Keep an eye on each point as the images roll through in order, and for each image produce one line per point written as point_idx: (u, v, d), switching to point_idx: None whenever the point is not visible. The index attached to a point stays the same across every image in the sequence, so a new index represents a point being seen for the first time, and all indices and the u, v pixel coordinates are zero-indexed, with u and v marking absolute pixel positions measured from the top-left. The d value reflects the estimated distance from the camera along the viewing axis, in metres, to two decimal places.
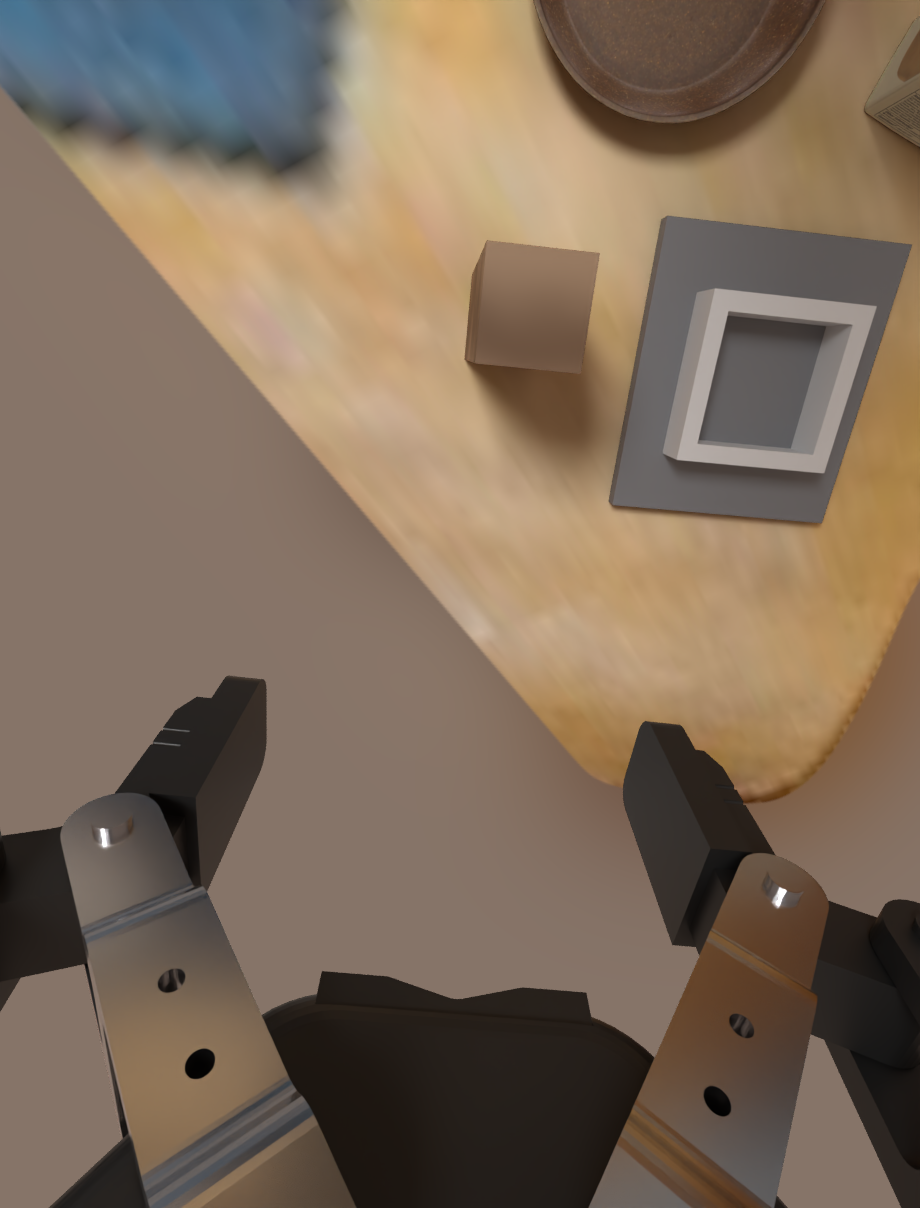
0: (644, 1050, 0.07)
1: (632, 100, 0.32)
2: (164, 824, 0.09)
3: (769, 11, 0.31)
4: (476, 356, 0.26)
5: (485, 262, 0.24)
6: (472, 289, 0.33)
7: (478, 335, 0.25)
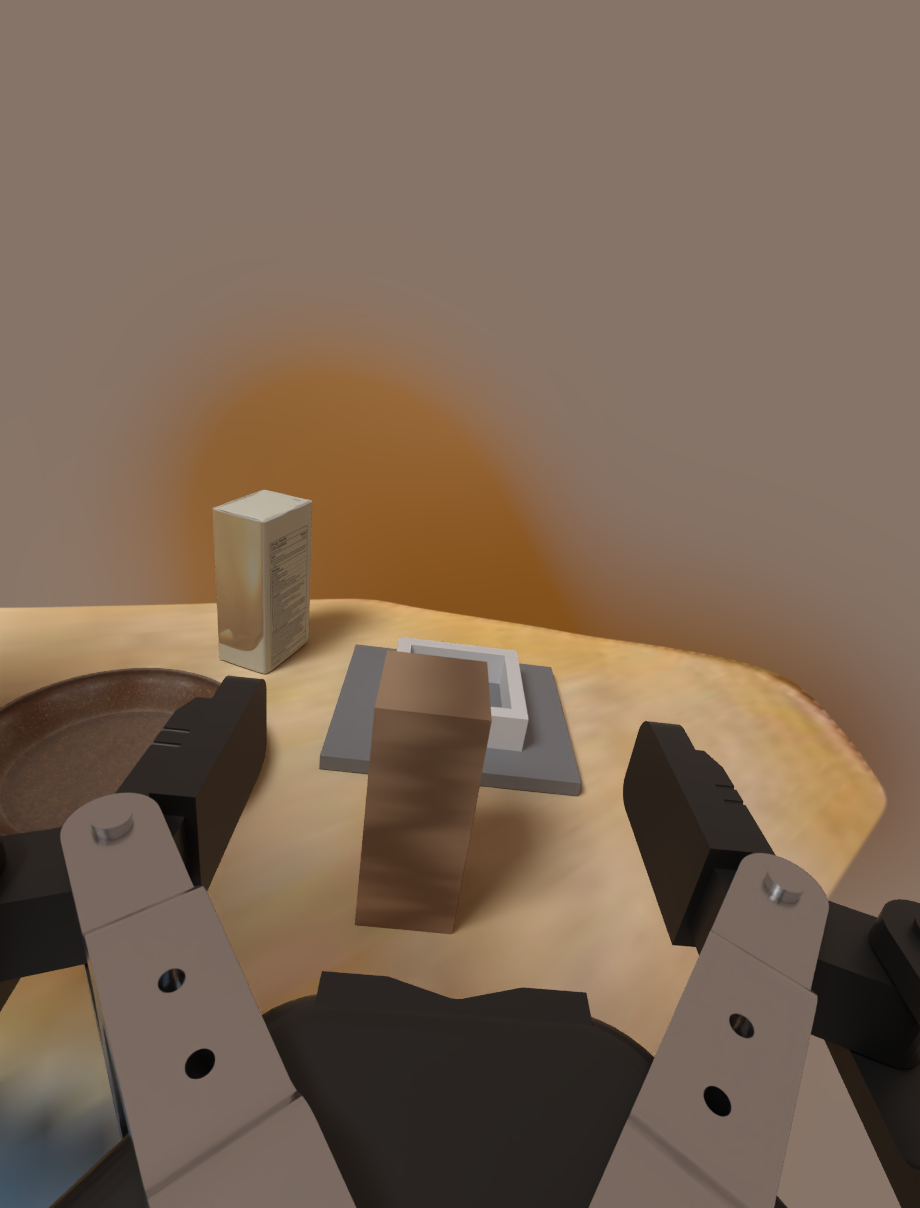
0: (644, 1050, 0.07)
1: None
2: (164, 824, 0.09)
3: None
4: (484, 720, 0.24)
5: (394, 711, 0.23)
6: (379, 890, 0.27)
7: (463, 718, 0.24)
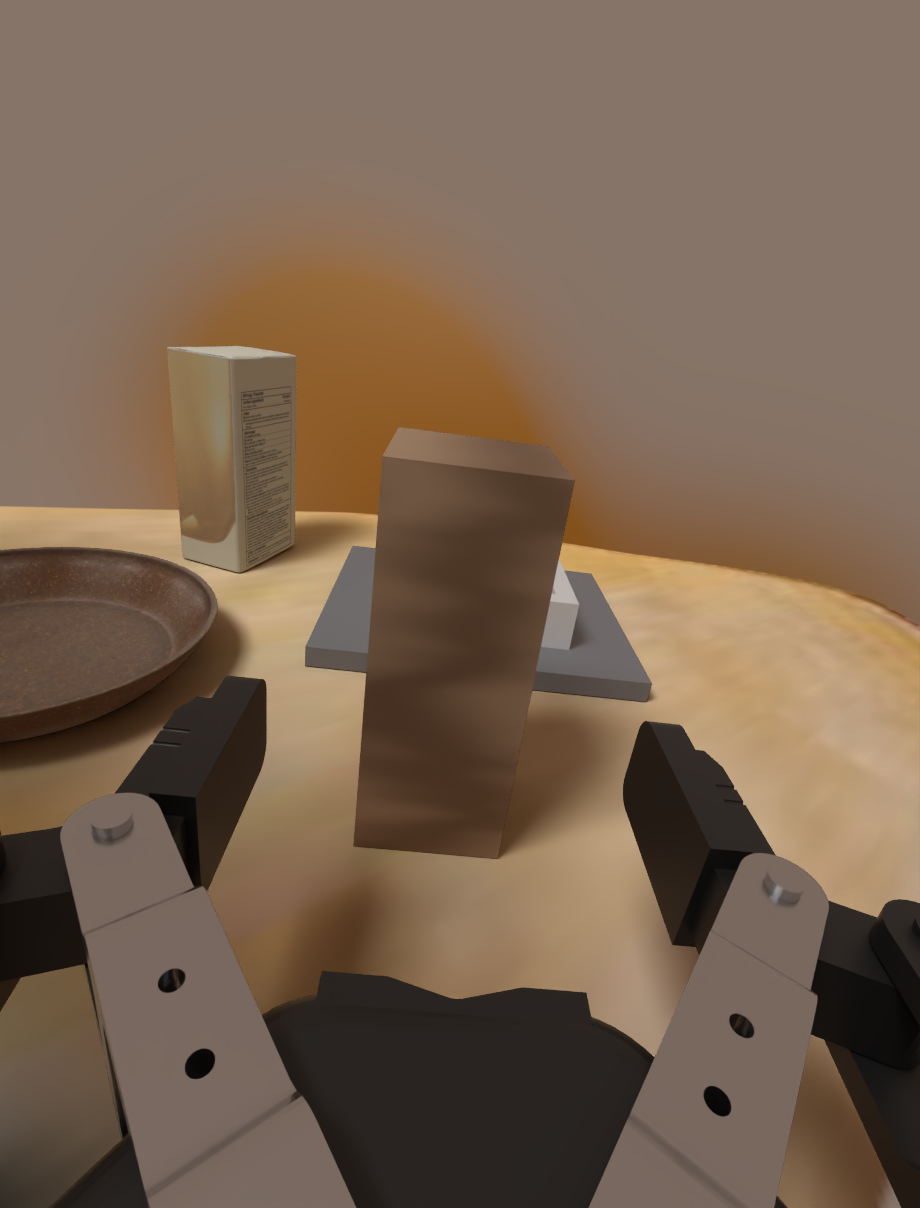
0: (644, 1050, 0.07)
1: None
2: (164, 824, 0.09)
3: (131, 607, 0.31)
4: (562, 481, 0.14)
5: (414, 463, 0.14)
6: (389, 789, 0.18)
7: (528, 477, 0.14)
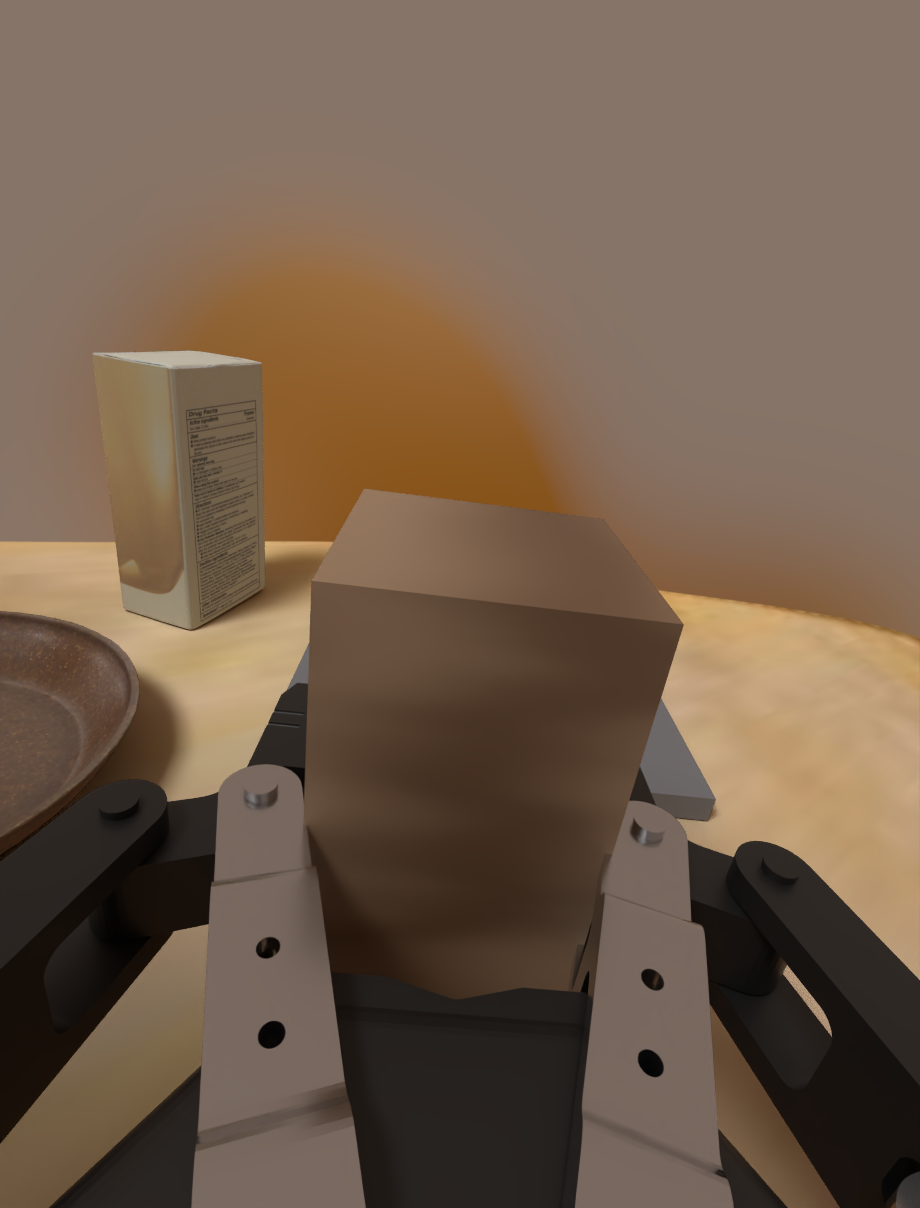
0: None
1: None
2: (301, 802, 0.09)
3: (40, 689, 0.24)
4: (660, 625, 0.08)
5: (375, 593, 0.07)
6: None
7: (595, 618, 0.07)
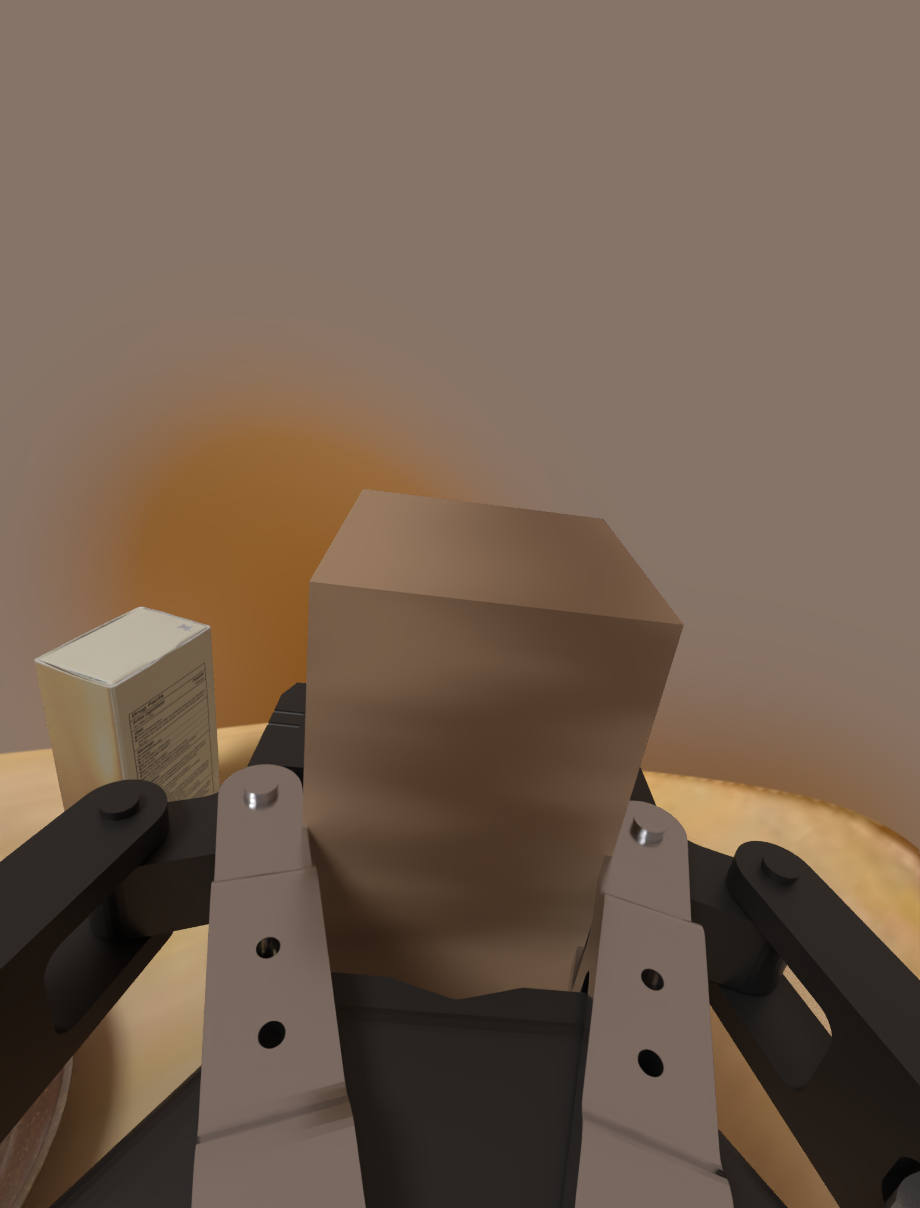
0: None
1: None
2: (301, 802, 0.09)
3: None
4: (659, 626, 0.07)
5: (373, 594, 0.07)
6: None
7: (594, 619, 0.07)
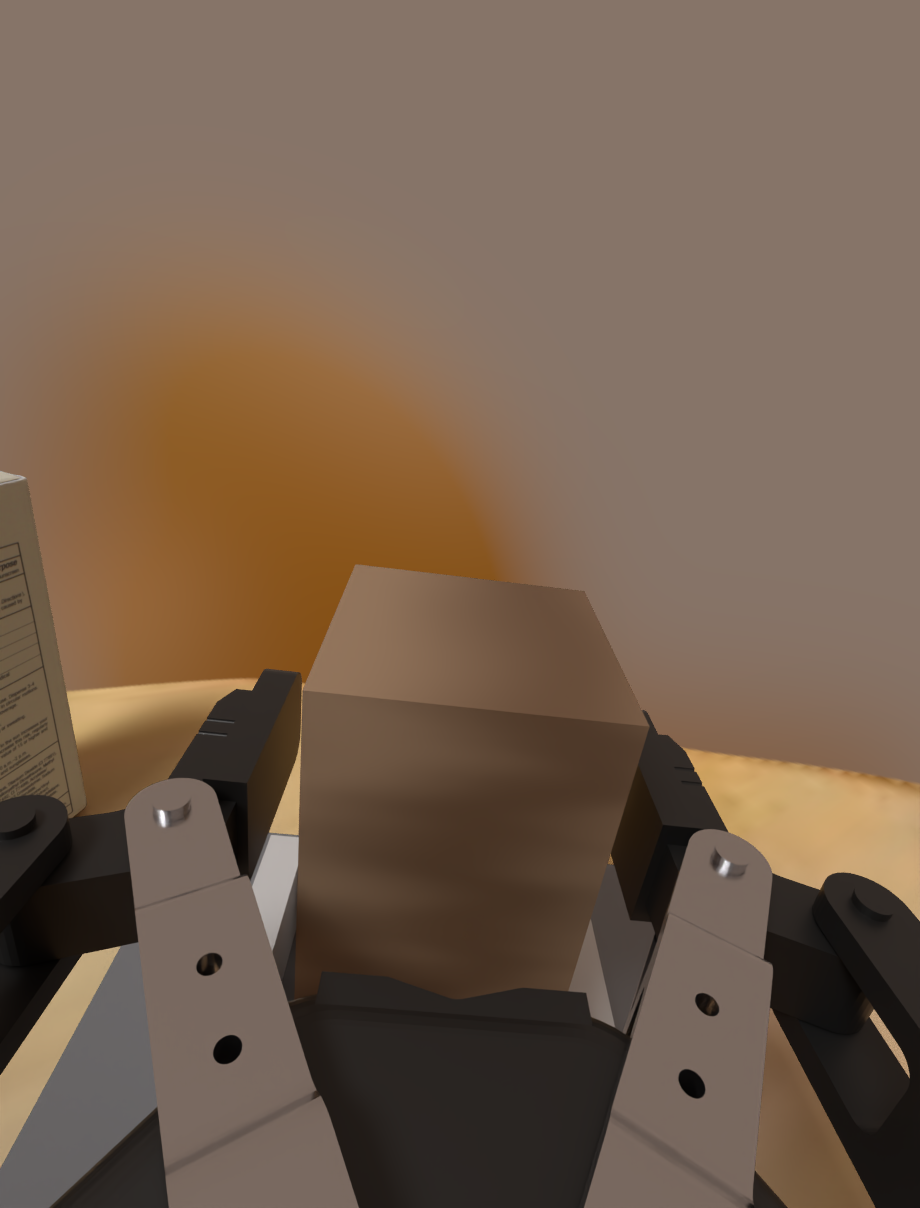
0: None
1: None
2: (219, 811, 0.09)
3: None
4: (627, 727, 0.08)
5: (362, 700, 0.08)
6: None
7: (567, 721, 0.08)
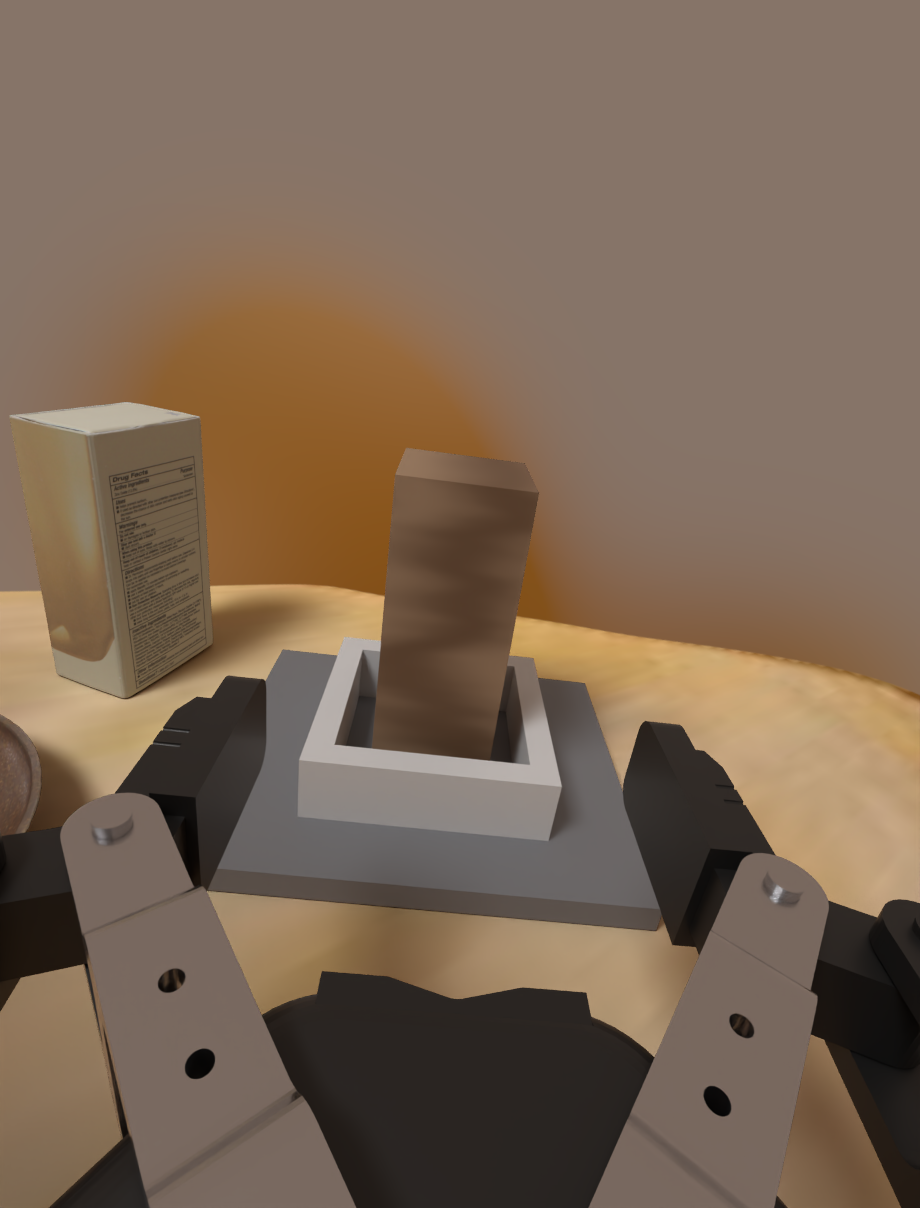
0: (644, 1050, 0.07)
1: None
2: (164, 824, 0.09)
3: None
4: (530, 493, 0.19)
5: (419, 479, 0.19)
6: (398, 733, 0.23)
7: (504, 490, 0.19)
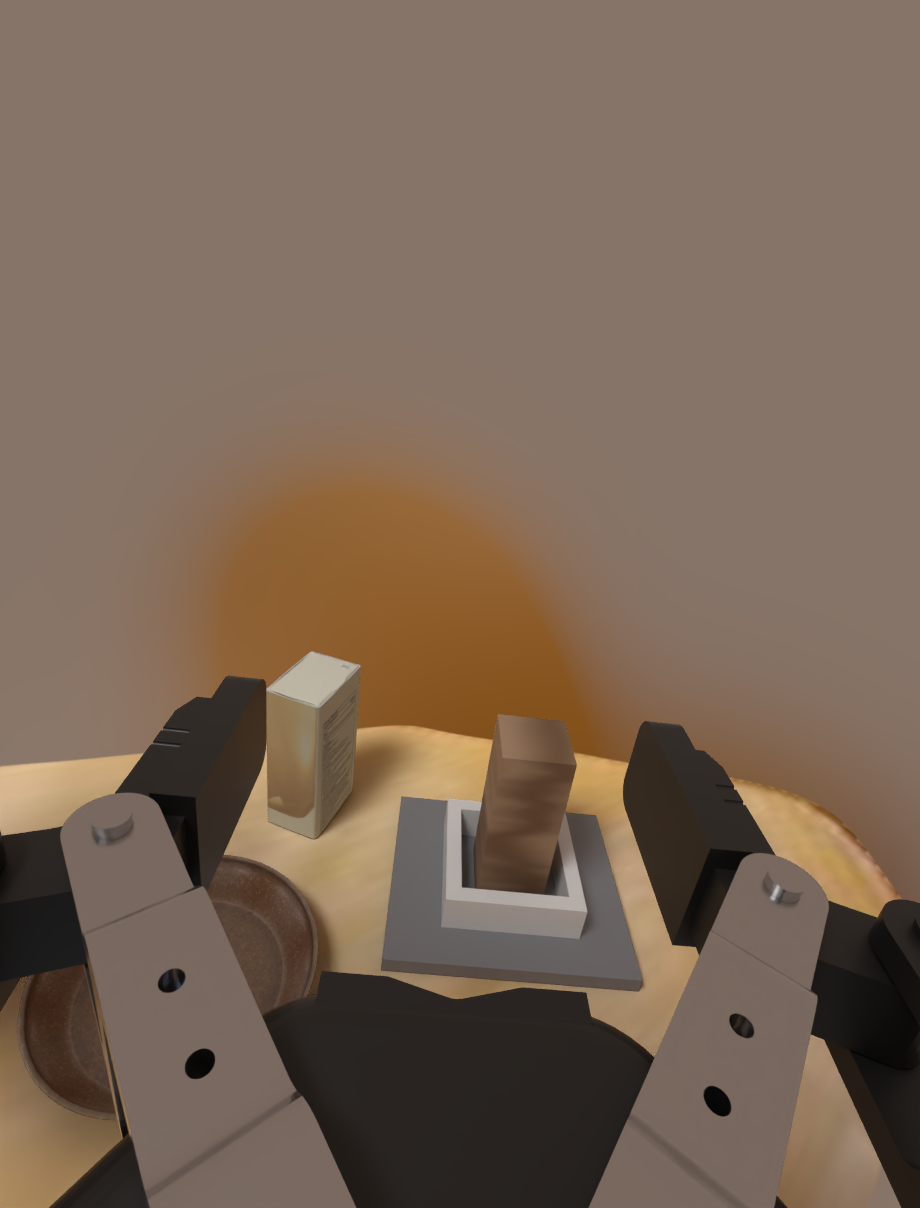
0: (644, 1050, 0.07)
1: None
2: (164, 824, 0.09)
3: (244, 906, 0.40)
4: (572, 765, 0.37)
5: (514, 759, 0.37)
6: (493, 876, 0.41)
7: (558, 764, 0.37)
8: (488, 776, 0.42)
